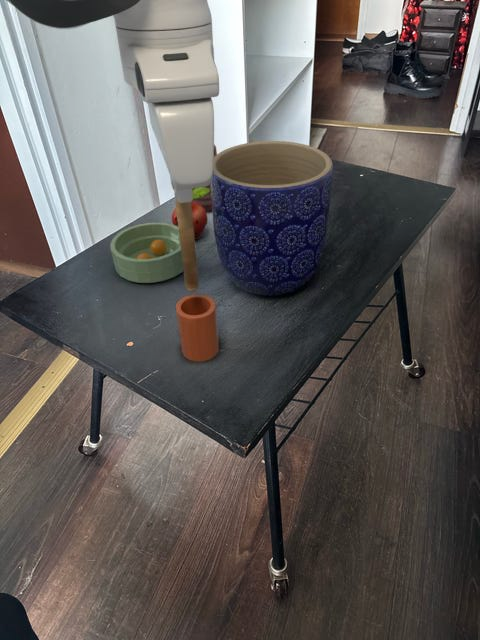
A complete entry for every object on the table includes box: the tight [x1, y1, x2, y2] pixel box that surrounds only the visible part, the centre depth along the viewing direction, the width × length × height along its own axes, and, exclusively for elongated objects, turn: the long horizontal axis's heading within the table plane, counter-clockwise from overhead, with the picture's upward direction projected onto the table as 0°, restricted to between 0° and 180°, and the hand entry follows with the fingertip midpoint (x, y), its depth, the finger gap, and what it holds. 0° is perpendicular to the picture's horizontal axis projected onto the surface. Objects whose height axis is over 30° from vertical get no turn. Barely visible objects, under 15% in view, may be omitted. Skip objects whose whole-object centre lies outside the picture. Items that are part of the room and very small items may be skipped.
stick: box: [173, 188, 200, 292], centre depth 57 cm, size 2×2×19 cm
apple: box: [171, 187, 210, 240], centre depth 92 cm, size 8×7×10 cm
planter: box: [210, 140, 334, 297], centre depth 77 cm, size 18×18×21 cm
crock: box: [175, 293, 220, 363], centre depth 67 cm, size 5×5×8 cm
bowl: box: [109, 222, 184, 284], centre depth 86 cm, size 14×14×5 cm
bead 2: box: [150, 240, 167, 256], centre depth 88 cm, size 3×3×3 cm
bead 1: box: [137, 253, 152, 259], centre depth 85 cm, size 3×3×3 cm
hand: (182, 194), depth 54 cm, fingers closed on stick, 2 cm apart
